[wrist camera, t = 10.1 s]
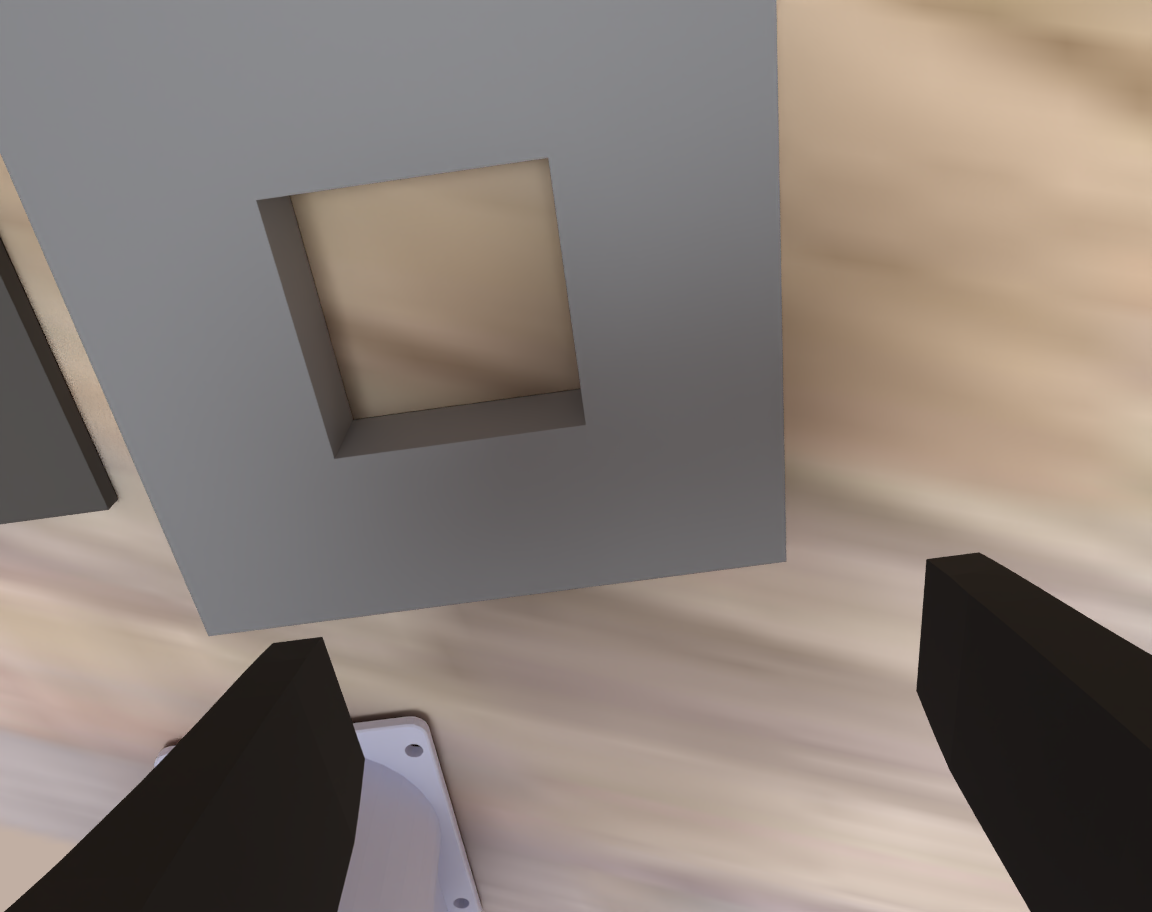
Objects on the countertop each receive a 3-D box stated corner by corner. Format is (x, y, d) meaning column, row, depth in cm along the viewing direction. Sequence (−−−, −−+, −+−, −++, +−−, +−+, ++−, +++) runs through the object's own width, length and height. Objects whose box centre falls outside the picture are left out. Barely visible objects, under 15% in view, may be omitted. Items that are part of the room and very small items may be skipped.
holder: (766, 517, 21) (786, 561, 20) (236, 586, 22) (208, 636, 20) (746, -138, 15) (773, -159, 13) (-6, -21, 15) (-78, -27, 14)
